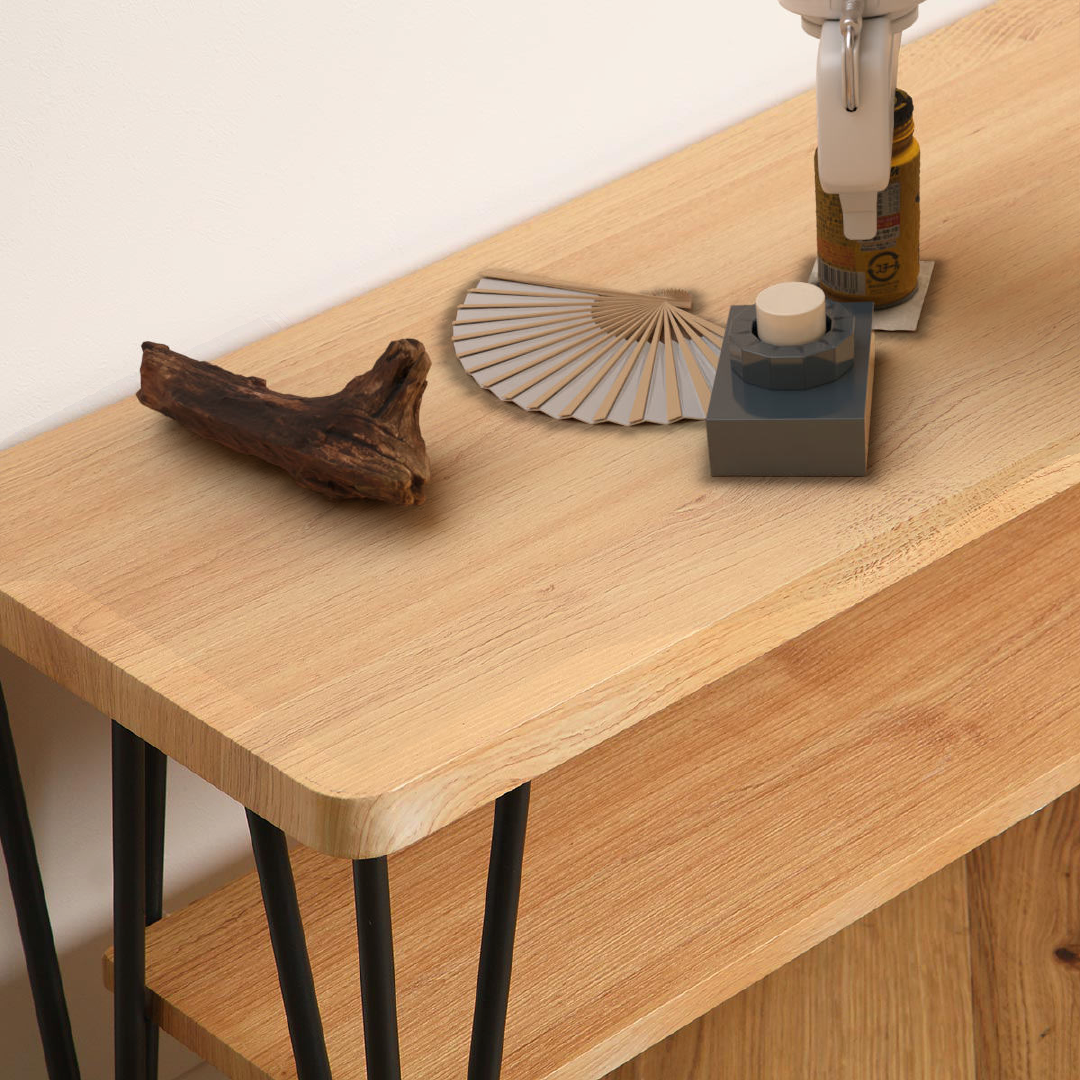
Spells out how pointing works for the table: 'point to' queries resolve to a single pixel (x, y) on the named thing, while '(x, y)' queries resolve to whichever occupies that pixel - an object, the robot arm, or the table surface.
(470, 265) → the table surface
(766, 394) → the grey socket base
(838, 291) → the condiment
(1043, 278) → the table surface
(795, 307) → the cream cylinder plug
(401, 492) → the driftwood
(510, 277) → the hand fan
